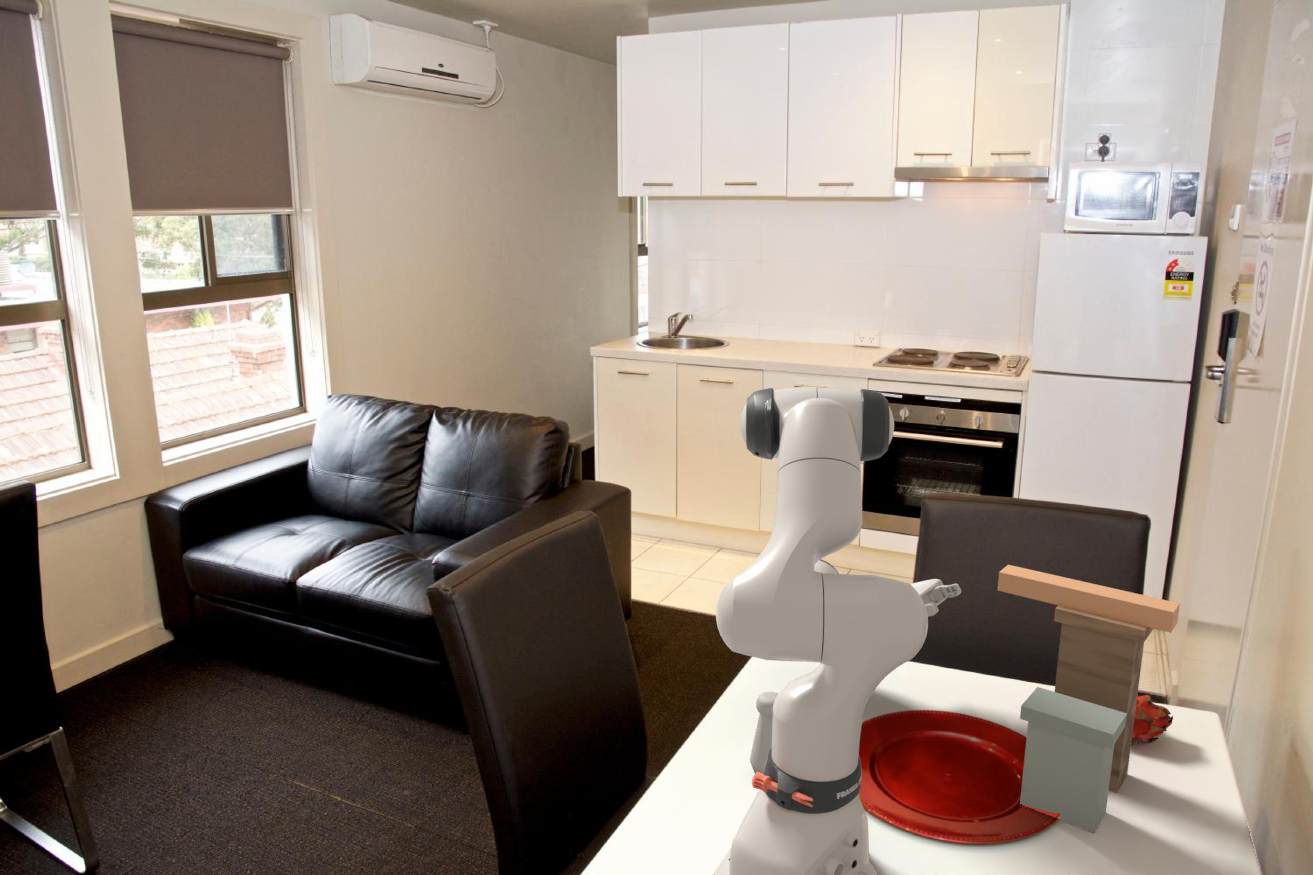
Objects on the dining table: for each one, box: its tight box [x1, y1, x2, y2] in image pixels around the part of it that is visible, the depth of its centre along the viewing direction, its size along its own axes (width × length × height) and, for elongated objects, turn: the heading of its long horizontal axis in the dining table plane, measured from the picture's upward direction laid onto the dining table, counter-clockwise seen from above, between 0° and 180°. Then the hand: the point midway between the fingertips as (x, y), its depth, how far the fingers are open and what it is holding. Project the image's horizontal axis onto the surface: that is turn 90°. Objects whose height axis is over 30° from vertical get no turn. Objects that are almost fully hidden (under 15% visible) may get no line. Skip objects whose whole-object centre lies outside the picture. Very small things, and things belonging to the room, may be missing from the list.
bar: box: [997, 564, 1181, 633], centre depth 140 cm, size 4×24×3 cm, turn 51°
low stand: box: [1019, 686, 1127, 834], centre depth 133 cm, size 7×12×16 cm, turn 51°
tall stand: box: [1053, 605, 1155, 793], centre depth 141 cm, size 7×12×26 cm, turn 51°
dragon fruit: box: [1131, 694, 1174, 745], centre depth 153 cm, size 8×8×12 cm
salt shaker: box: [749, 691, 779, 775], centre depth 142 cm, size 6×6×13 cm
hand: (947, 598), depth 154 cm, fingers open, 8 cm apart
